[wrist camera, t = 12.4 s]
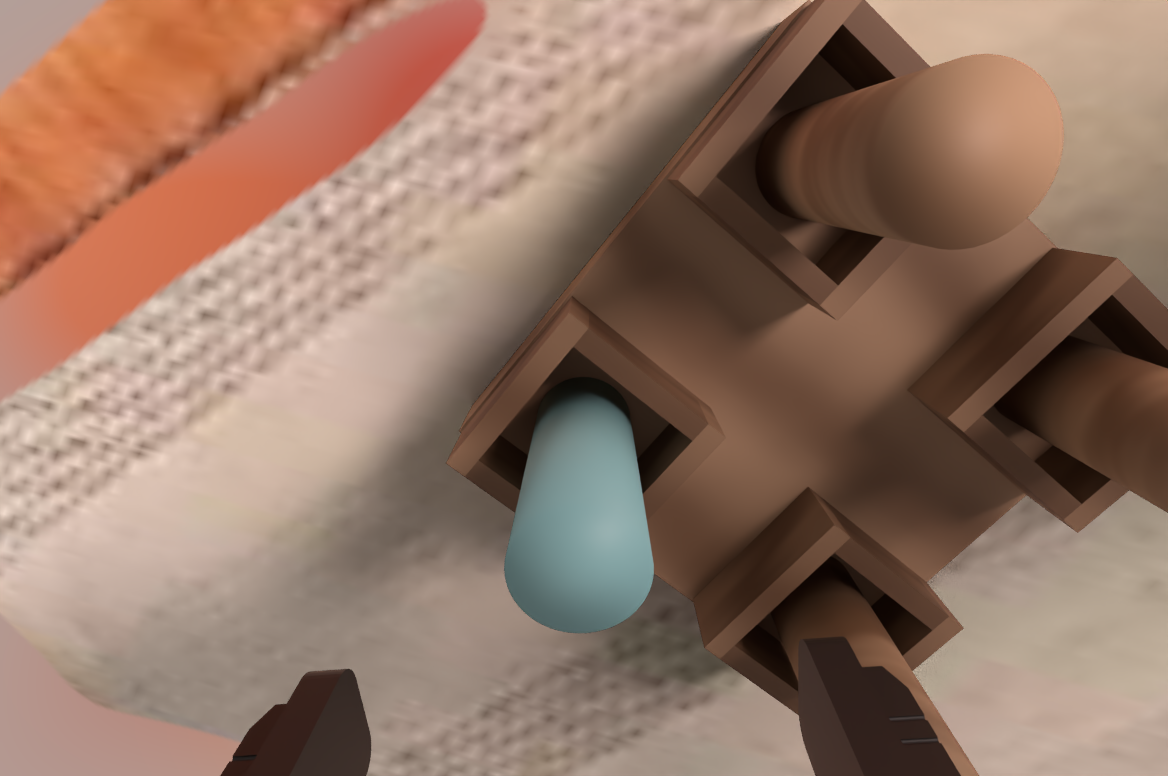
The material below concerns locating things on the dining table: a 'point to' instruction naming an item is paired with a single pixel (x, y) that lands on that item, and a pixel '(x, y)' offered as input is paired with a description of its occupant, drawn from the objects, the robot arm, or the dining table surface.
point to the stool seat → (849, 349)
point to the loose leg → (580, 514)
